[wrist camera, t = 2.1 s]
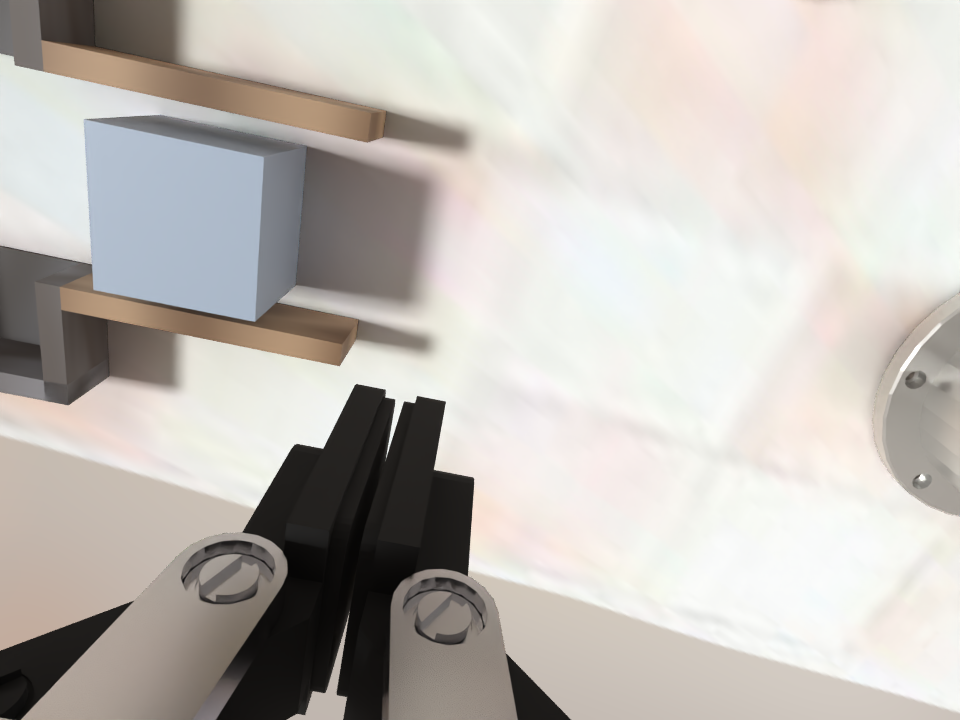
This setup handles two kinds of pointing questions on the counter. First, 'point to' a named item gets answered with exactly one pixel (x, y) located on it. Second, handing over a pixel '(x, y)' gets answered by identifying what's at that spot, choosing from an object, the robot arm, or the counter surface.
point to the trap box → (69, 285)
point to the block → (193, 214)
